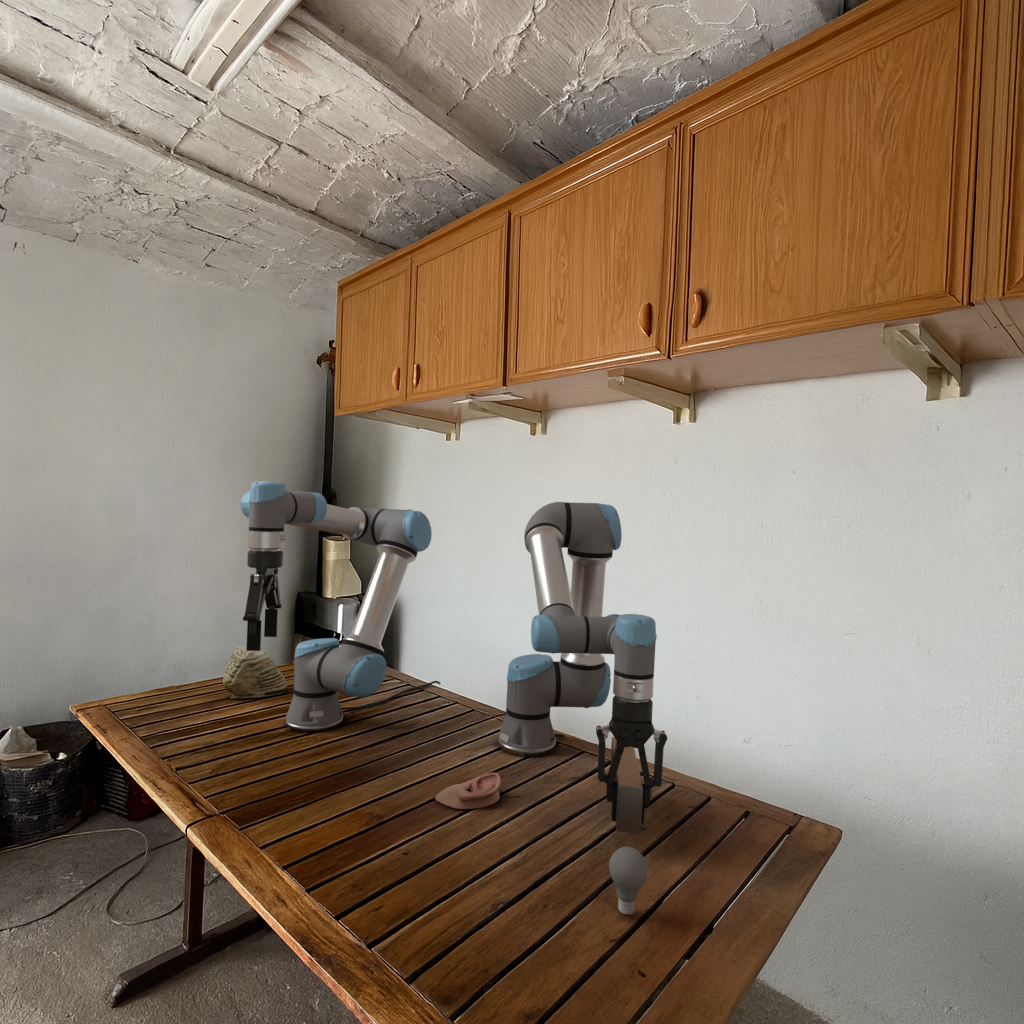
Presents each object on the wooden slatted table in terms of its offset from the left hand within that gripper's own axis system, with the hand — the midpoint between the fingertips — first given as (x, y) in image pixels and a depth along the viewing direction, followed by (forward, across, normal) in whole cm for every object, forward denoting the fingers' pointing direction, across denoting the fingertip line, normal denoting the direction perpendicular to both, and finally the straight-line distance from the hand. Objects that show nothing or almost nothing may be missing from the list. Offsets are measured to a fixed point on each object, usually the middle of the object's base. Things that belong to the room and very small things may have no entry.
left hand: (262, 643), depth 143 cm
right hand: (+25, -32, -77) cm, 87 cm away
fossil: (+29, +56, +17) cm, 66 cm away
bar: (+26, -24, -78) cm, 86 cm away
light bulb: (+29, -52, -71) cm, 93 cm away
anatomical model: (+29, -13, -47) cm, 57 cm away
